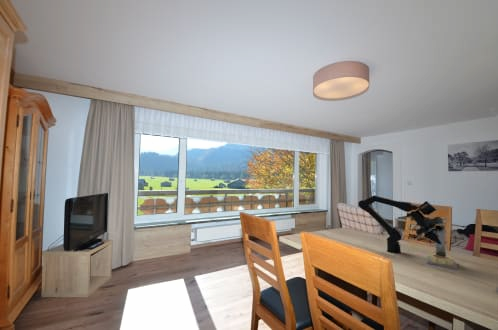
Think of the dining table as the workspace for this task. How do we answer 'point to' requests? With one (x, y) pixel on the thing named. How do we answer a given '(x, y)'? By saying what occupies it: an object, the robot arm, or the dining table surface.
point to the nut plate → (441, 261)
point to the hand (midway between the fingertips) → (443, 243)
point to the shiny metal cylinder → (440, 247)
